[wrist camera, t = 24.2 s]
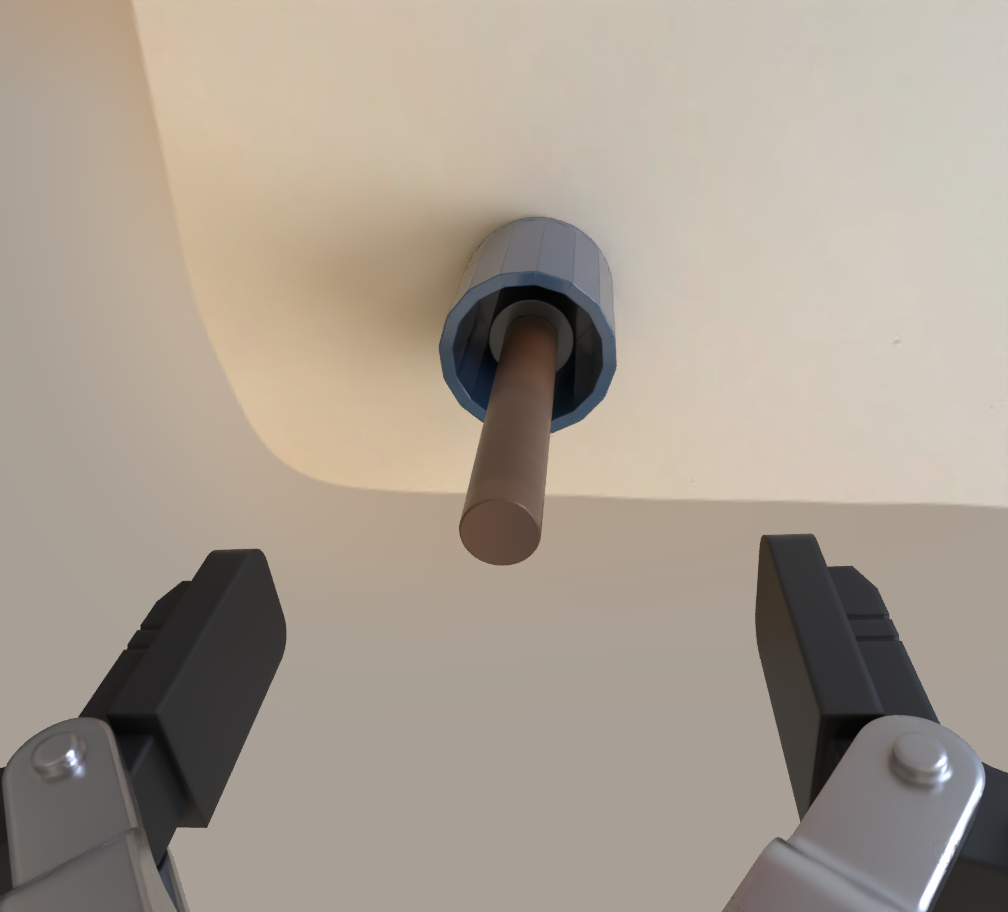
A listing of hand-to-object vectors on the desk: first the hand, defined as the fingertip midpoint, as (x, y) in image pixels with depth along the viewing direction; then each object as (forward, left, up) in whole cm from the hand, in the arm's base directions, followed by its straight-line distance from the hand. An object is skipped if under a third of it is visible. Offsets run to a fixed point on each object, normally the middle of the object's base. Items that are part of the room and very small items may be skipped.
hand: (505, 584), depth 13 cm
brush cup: (-1, -3, -23) cm, 24 cm away
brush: (-1, -3, -23) cm, 23 cm away
